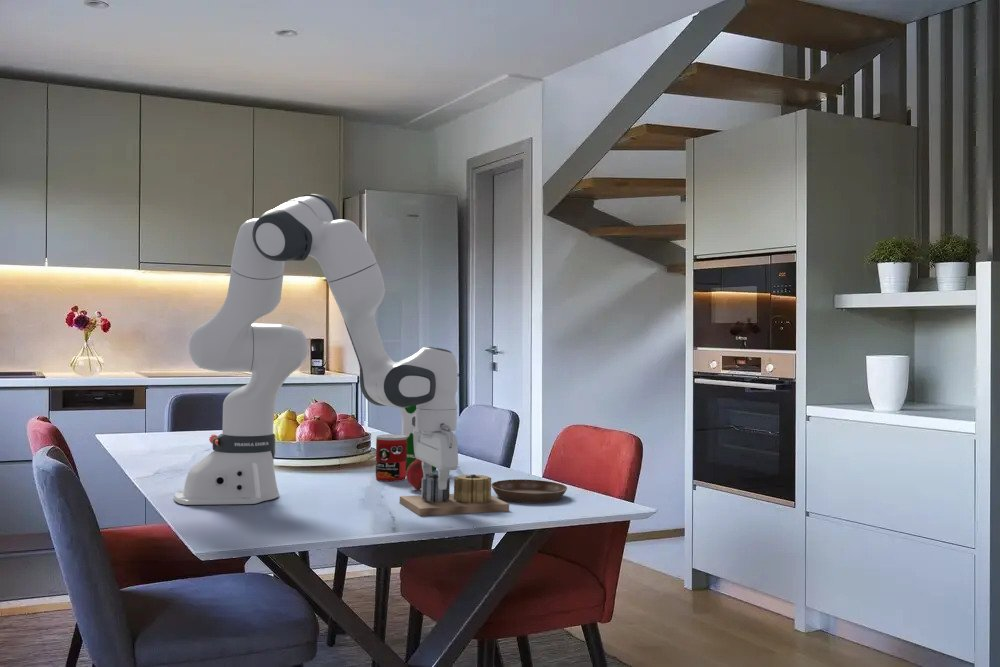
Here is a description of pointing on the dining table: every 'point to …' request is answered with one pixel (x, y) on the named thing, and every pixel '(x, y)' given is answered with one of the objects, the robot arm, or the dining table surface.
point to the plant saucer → (529, 490)
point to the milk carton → (409, 433)
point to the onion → (415, 474)
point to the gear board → (451, 506)
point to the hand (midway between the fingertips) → (434, 485)
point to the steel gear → (434, 490)
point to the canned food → (391, 457)
